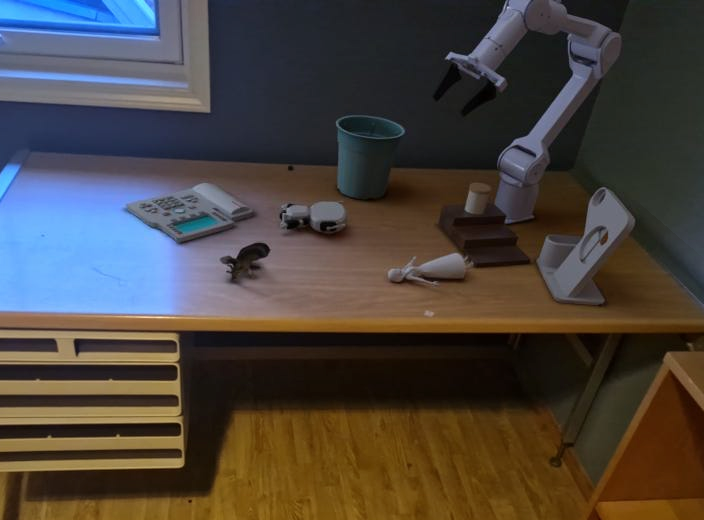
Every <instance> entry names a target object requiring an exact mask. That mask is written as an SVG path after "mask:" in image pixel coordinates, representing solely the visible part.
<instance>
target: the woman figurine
mask: <svg viewBox="0 0 704 520" xmlns="http://www.w3.org/2000/svg"><path fill="white" fill-rule="evenodd" d="M417 257H418V256H417V255H415V256H413V258H412V260H411V261H410V262H408V263H407V265H405V267H402V269H401V268H391V269H390V270H388V272H387V277H388V279H389V280H390V281H392V282H393V283H400V282H402V281H403V280H404V278H405V279H406V280H408V281H415V282H416V281H417V282H420V283H422V284H423V283H425V284H428V285H432V286H434V287H441V284H440V283H438V282H437V281H433V282H432V281H430V280H426V279H424V278H422V277H417V276H418V275H421V276H423V277H425V278H428V279H429V278H430V279H441V280H442V279H443V280H450V279H452V280H457V279H464V278H465V275H466V271H468V270H471V269H473V267H474V265H473V261H472V262H471V261H470V263H469V264H468V265H466V264H467V263H468V261H469V259H468V256H467V257H466V256H465V258H463V257H462V255H461V254H460V253H458V252H454V253H450V254H447V255H443V256H441V257H438V258H435V259H432V260H430V261H427V262H425V263H423V264H421V265H419V266H415V265H414V262H415V260H416V259H417Z"/></svg>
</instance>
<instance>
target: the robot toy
mask: <svg viewBox="0 0 704 520" xmlns="http://www.w3.org/2000/svg"><path fill="white" fill-rule="evenodd" d="M344 202H345V200H340V201H318V202H315V203H314V204H313V205H312V206H311V207H310V208H309V206H307V205H298V204H295V203H290V202H289V203H288V204H287V203H284V204H282V205H281V206H280V207H281V208H280V209H281V210H282V211H281V212H280V213H279V219H280V221H282V222H280V223H279V225H278V226H279V228H280V229H282V230H285V229H286V230H289V231H290V230H294V229H300V228H306V227H308V226H309V225H310V226H311V227H312V229H313V230H315V231H317V232H319V233H323V234H328V235H329V234H333V233H337V232H340V231H341V230H343V229H344V228H345V227H346V226H347V221H348V211H347V210H346V209H347V208H346V207H345V206H344V205H342V204H343V203H344Z"/></svg>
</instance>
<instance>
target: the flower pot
mask: <svg viewBox="0 0 704 520" xmlns="http://www.w3.org/2000/svg"><path fill="white" fill-rule="evenodd" d="M335 125H336V128H337V142H338V157H337V181H336V182H337V185H336V186H337V187H336V188H337V190H339V191H340V193H341V194H343V195H345V196H347V197H349V198H353V199H357V200H368V199H373V200H376V199H380V198H382V197H383V196H384V195H385V194H386V190H387V187H388V184H389V183H388V182H389V179H390V176H391V173H392V172H391V171H392V168H393V164H394V160H395V157H396V154H397V150H398V149H399V148H400V147H399V146H400V143H401V139H402V137H403V136H404V135H405V133H406V129H405V128H404V127H403V125H401V124H399V123H397V122H395V121H393V120H389V119H387V118H383V117H378V116H371V115H361V114H360V115H358V114H357V115H346V116H342V117H340V118H338V119H337V120H336V121H335Z"/></svg>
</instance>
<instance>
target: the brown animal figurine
mask: <svg viewBox="0 0 704 520" xmlns="http://www.w3.org/2000/svg"><path fill="white" fill-rule="evenodd" d="M271 250H272V249H271V247H270V246H269V245H268V244H267V243H266V242H253V243H251V244H249V245H246V246H244V247H242V248H240V250H239V252H238V253H237V255H236V257H232V256H231V255H229V254H228V255H224V256H221V257H220V258H219V262H220V263H221V264H223V265H226V266H227V267H229V268H230V270H226V271H225V272H226V274H227V273H228V274H230V275H231V279H230V282H231V283H233V282H234V281H235V280H236V279H237V278H238V276H239V274H241V273H245V274H247V275H248V276H250V277H251V278H252V279H255V277H254V272H253V271H252V269H251V268H250V266H254V267H259V268H260V267H261V265H260V264H258V263H256V261H259V260H260V259H265V258H267V257H268V256H269V254H270V253H271Z"/></svg>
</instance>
